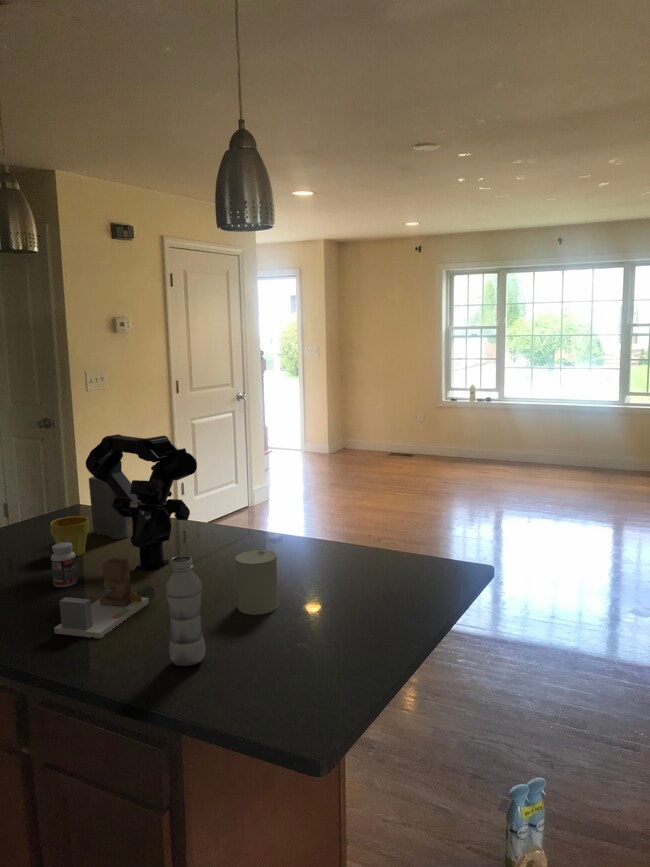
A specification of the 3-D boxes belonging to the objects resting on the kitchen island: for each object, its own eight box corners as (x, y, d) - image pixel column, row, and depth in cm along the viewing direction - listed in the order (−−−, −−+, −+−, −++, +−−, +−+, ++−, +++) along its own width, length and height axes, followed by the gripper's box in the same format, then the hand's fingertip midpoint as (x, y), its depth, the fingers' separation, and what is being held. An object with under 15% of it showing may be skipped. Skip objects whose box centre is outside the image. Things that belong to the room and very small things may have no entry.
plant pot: (99, 551, 193) (96, 518, 192) (68, 562, 185) (65, 527, 183) (76, 546, 199) (73, 514, 197) (45, 557, 190) (41, 523, 189)
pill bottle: (69, 588, 166) (65, 549, 164) (48, 587, 167) (44, 548, 165) (82, 579, 171) (78, 541, 170) (62, 578, 172) (58, 541, 171)
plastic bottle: (172, 655, 129) (164, 554, 126) (208, 652, 130) (201, 552, 127) (167, 672, 123) (159, 566, 120) (205, 669, 123) (198, 564, 120)
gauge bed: (107, 598, 158) (104, 570, 157) (149, 602, 155) (146, 573, 154) (54, 633, 141) (51, 601, 140) (100, 638, 137) (97, 605, 136)
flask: (133, 536, 207) (128, 472, 204) (117, 541, 203) (111, 475, 200) (107, 528, 217) (101, 466, 214) (90, 532, 212) (84, 470, 209)
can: (285, 600, 154) (283, 549, 152) (269, 616, 145) (266, 563, 143) (248, 596, 157) (245, 546, 155) (230, 612, 148) (227, 559, 146)
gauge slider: (113, 595, 156) (109, 556, 155) (147, 598, 154) (143, 559, 152) (94, 607, 150) (90, 567, 148) (129, 610, 147) (126, 570, 146)
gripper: (112, 464, 166) (88, 521, 157) (180, 466, 161) (160, 525, 152) (133, 488, 175) (111, 543, 166) (198, 491, 169) (179, 547, 160)
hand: (139, 539), depth 161 cm, fingers open, 3 cm apart
